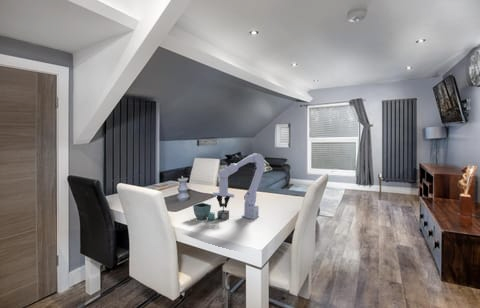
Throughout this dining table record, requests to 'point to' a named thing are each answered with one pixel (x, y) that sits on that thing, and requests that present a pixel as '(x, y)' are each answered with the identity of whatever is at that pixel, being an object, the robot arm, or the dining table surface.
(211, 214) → the teal rounded part
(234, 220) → the dining table surface
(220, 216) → the press pot
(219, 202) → the robot arm
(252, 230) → the dining table surface
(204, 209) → the flower pot
